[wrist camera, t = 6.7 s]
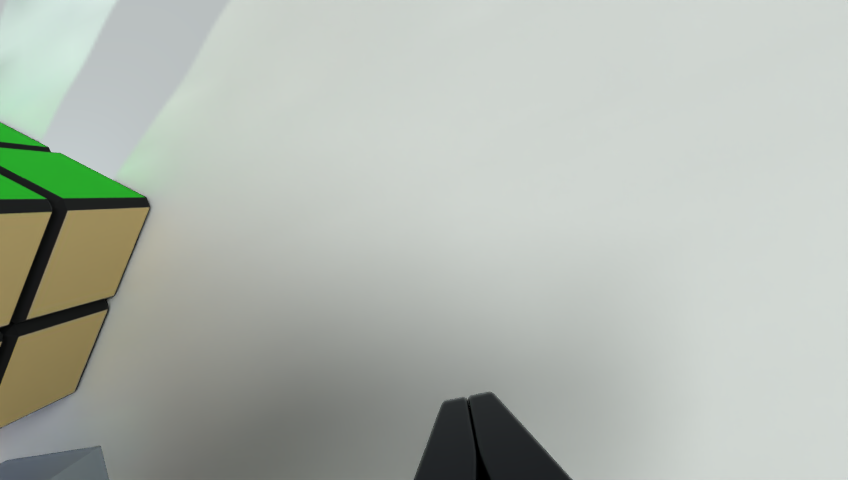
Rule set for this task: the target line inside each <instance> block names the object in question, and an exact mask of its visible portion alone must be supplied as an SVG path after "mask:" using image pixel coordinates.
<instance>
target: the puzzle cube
mask: <svg viewBox="0 0 848 480" xmlns="http://www.w3.org/2000/svg"><path fill="white" fill-rule="evenodd" d="M149 208H150V206H149V204H148V201H147V198H146V197H144V196H142V195H141V194H139V193H137V192H135V191H133V190H131V189H129V188H127V187H125V186H123V185H121V184H119V183H117V182H115V181H113V180H112V179H110V178H107V177H106V176H104V175H102V174H100V173H98V172H96V171H94V170H92V169H90V168H88V167H86V166H84V165H82V164H80V163H79V162H77V161H75V160H73V159H71V158H69V157H67V156H65V155H63V154H61V153H52V152H51V151H50V149H49V147H47V146H45V145H43V144H41V143H39V142H37V141H35V140H33V139H31V138H29V137H28V136H26V135H24V134H22V133H20V132H18V131H16V130H14V129H12V128H10V127H8V126H6V125H4V124H2V123H0V428H2V427H4V426H6V425H8V424H10V423H12V422H14V421H16V420H18V419H20V418H22V417H24V416H27V415H29V414H31V413H33V412H35V411H37V410H39V409H41V408H43V407H45V406H47V405H49V404H51V403H53V402H55V401H57V400H59V399H62V398H64V397H66V396H68V395H70V394H72V393H74V392H75V390H76V387H77V385H78V382H79V380H80V377H81V375H82V373H83V370H84V368H85V365H86V363H87V360H88V358H89V355H90V353H91V350H92V348H93V345H94V343H95V340H96V338H97V336H98V333H99V331H100V328H101V326H102V323H103V321H104V318H105V316H106V313H107V311H108V305H107V302H106V301H105V299H106V298H109V297H112V296H114V295H115V292H116V290H117V287H118V285H119V282H120V280H121V277H122V275H123V272H124V270H125V267H126V265H127V262H128V260H129V258H130V255H131V253H132V250H133V248H134V245H135V243H136V240H137V238H138V235H139V233H140V230H141V228H142V226H143V223H144V221H145V218H146V216H147V213H148V211H149Z"/></svg>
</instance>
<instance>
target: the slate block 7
mask: <svg viewBox="0 0 848 480" xmlns="http://www.w3.org/2000/svg"><path fill="white" fill-rule="evenodd" d="M0 480H109V477H108V473H107V469H106V465H105V461H104V458H103V454H102V450H101V446H97V447H90V448H84V449H77V450H71V451H64V452H58V453H51V454H45V455H39V456H32V457H26V458H19V459H13V460H7V461H5V462H3V463H1V464H0Z"/></svg>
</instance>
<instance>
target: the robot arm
mask: <svg viewBox="0 0 848 480" xmlns="http://www.w3.org/2000/svg"><path fill="white" fill-rule="evenodd" d="M468 402H469V403H468ZM469 407H470V408H469ZM414 480H572V479H571V478H570V477H569V475H568V474H567V473H566V472H565V471H564V470H563V469H562V468H561V467H560V466H559V464H558V463H557V462H556V461H555V460H554V459H553V458H552V457H551V456H550V455H549V453H548V452H547V451H546V450H545V449H544V448H543V447H542V446H541V445H540V444H539V442H538V441H537V440H536V439H535V438H534V437H533V436H532V435H531V434H530V433H529V432H528V430H527V429H526V428H525V427H524V426H523V425H522V424H521V423H520V422H519V421H518V419H517V418H516V417H515V416H514V415H513V414H512V413H511V412H510V411H509V410H508V408H507V407H506V406H505V405H504V404H503V403H502V402H501V401H500V400H499V399H498V397H497V396H496V395H495V394H494V393H492V392H485V393H480V394H475V395H471V396H470V397H469V399H468V400H467V398H465V397H460V398H455V399H450V400H446V401H444V402H443V403H442V405H441V407H440V410H439V412H438V415H437V418H436V421H435V423H434V426H433V429H432V431H431V434H430V437H429V440H428V442H427V445H426V448H425V450H424V453H423V456H422V458H421V461H420V464H419V467H418V469H417V472H416V475H415V477H414Z"/></svg>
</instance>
